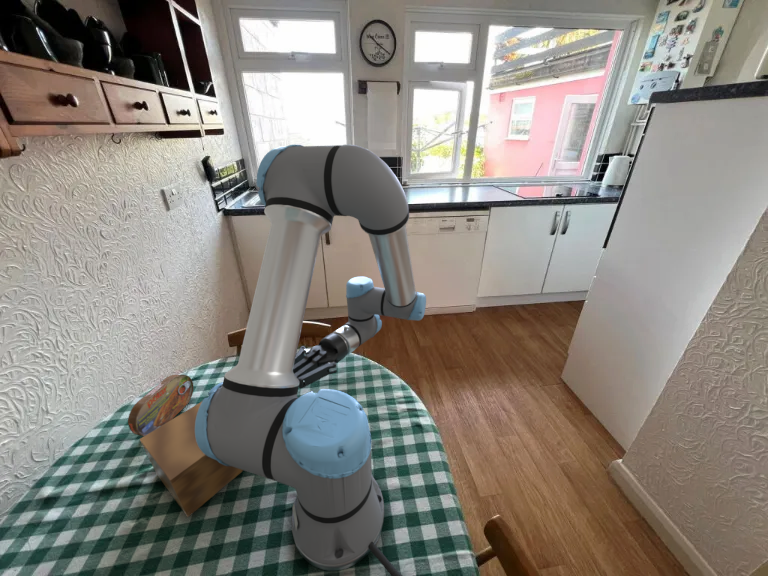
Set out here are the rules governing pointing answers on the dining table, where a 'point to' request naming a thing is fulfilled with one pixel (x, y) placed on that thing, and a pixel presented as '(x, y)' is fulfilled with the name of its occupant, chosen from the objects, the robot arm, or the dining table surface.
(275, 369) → the robot arm
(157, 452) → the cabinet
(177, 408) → the tin
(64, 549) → the dining table surface
